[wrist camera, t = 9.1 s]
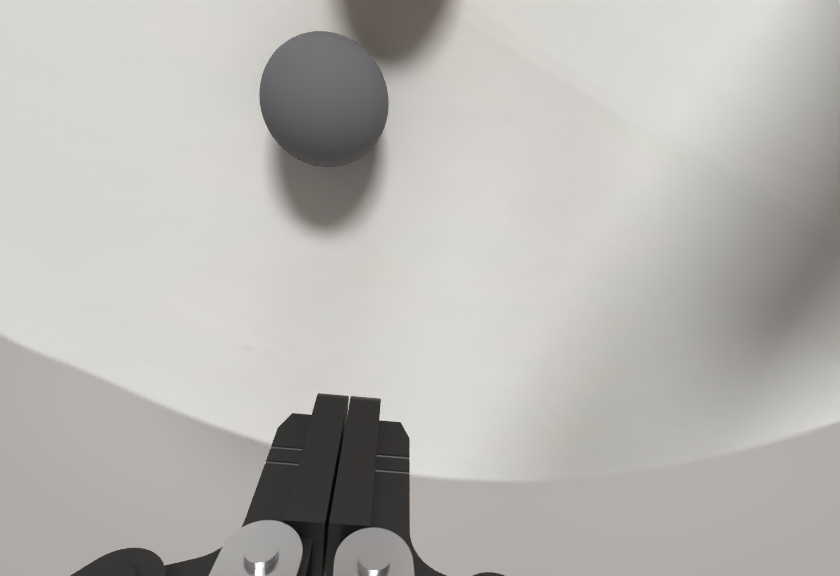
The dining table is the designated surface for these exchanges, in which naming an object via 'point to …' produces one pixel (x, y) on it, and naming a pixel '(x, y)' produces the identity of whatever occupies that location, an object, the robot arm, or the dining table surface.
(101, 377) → the dining table surface
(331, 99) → the gray ball
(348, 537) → the robot arm
